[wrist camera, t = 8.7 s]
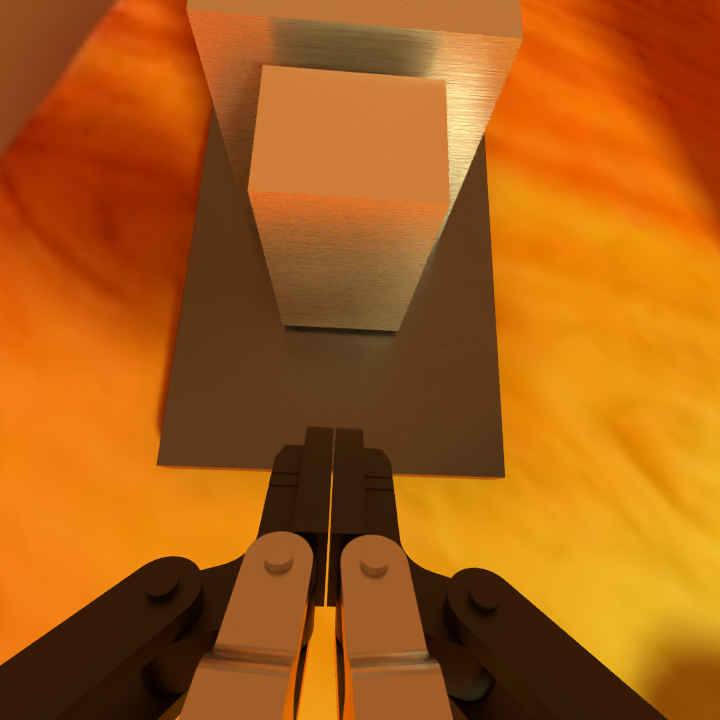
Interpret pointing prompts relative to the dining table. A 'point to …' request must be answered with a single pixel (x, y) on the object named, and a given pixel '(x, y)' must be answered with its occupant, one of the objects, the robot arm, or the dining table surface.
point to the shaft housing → (341, 345)
